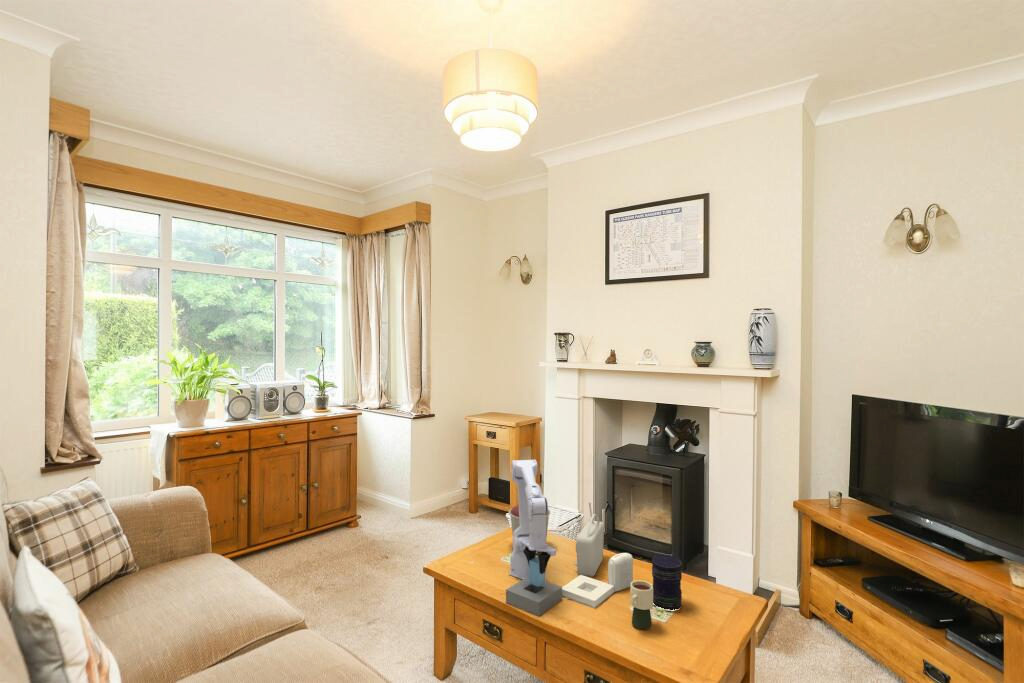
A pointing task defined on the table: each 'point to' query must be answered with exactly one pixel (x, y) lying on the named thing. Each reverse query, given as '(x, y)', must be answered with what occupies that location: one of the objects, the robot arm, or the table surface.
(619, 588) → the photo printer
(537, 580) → the plug
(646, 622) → the character mug
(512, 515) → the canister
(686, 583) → the table surface
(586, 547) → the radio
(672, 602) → the storage jar
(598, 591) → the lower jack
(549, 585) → the grey square socket block
